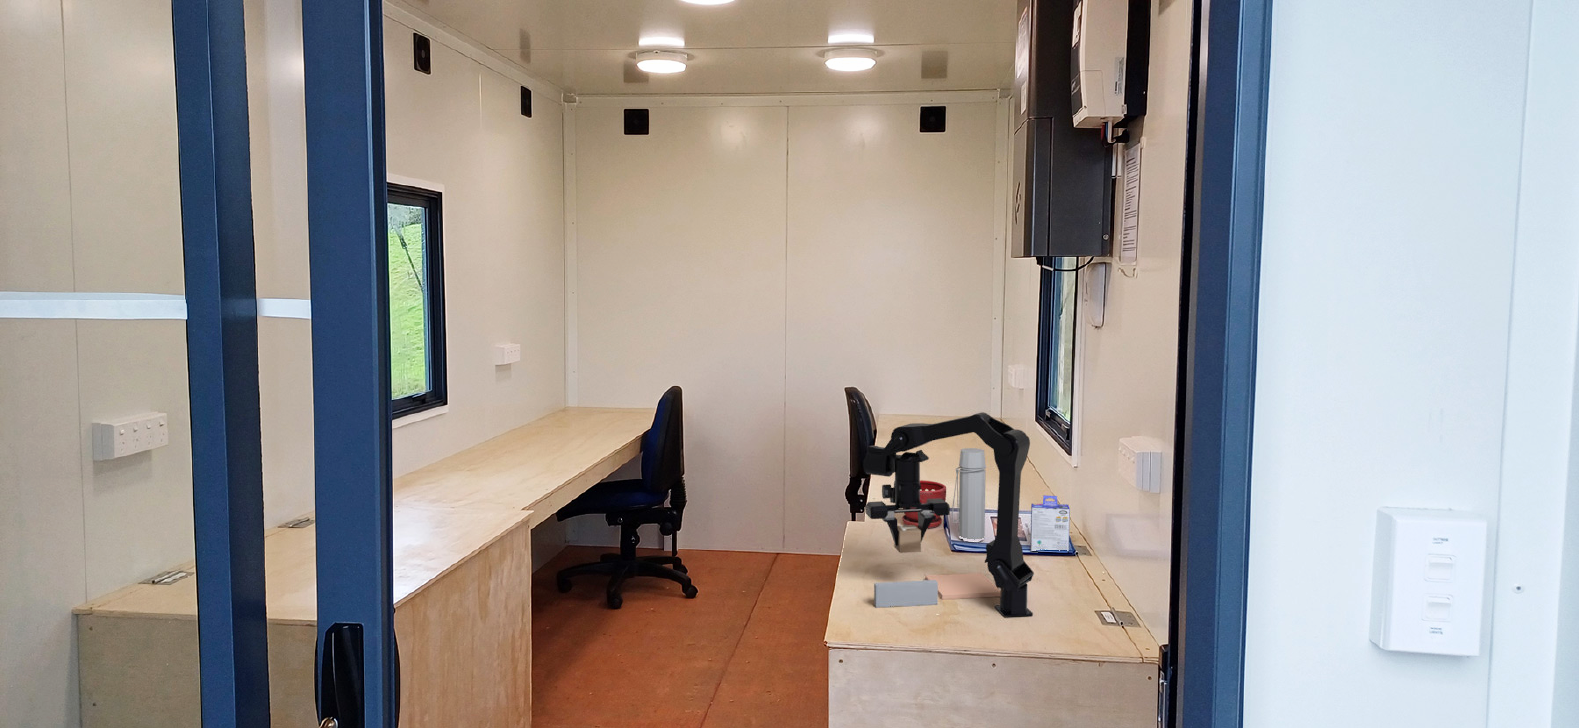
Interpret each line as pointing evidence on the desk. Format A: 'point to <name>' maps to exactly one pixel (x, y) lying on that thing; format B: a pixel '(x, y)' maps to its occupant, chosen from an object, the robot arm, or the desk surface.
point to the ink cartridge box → (1050, 525)
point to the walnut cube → (908, 539)
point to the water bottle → (971, 494)
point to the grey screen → (906, 593)
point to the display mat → (964, 586)
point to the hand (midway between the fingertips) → (907, 544)
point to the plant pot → (939, 492)
